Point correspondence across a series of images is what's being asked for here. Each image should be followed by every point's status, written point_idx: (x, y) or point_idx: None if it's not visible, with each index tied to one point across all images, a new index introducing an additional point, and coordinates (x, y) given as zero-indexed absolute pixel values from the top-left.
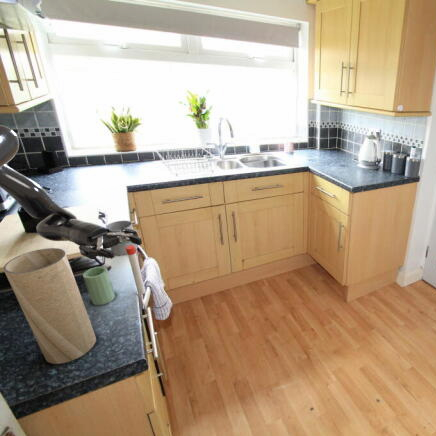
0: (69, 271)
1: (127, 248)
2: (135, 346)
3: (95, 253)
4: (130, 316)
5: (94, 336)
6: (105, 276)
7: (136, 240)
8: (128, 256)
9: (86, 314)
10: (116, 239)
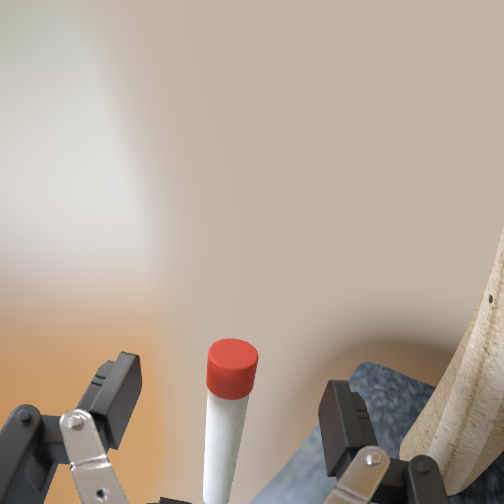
0: (498, 245)
1: (253, 353)
2: (357, 377)
3: (397, 464)
4: (315, 447)
5: (407, 434)
6: None
7: (131, 381)
8: (248, 398)
9: (439, 384)
10: (170, 502)
